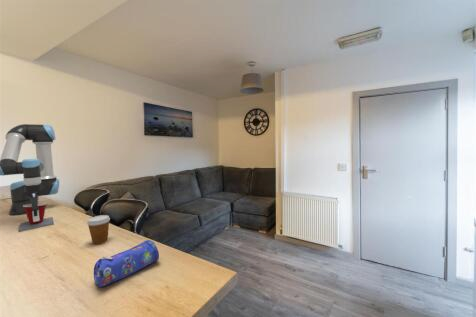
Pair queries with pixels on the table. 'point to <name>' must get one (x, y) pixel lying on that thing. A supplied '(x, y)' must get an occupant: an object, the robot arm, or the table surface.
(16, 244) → the table surface
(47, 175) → the robot arm
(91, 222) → the disposable coffee cup
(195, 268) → the table surface
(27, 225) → the slate tile
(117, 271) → the pencil case
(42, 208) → the plastic cup
